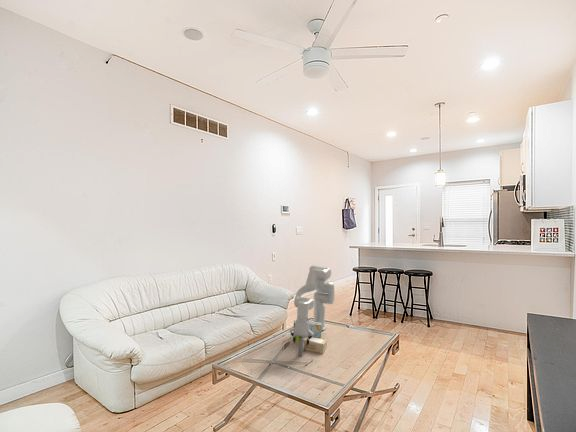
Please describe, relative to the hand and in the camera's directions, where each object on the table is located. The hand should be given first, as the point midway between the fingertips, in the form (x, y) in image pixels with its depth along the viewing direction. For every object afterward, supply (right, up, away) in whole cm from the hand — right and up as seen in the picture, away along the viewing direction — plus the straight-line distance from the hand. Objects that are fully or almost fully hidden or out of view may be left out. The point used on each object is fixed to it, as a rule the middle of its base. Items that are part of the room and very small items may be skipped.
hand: (300, 343), depth 219 cm
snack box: (+5, -8, +23) cm, 25 cm away
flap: (+1, -8, +5) cm, 10 cm away
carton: (+10, -9, +12) cm, 18 cm away
